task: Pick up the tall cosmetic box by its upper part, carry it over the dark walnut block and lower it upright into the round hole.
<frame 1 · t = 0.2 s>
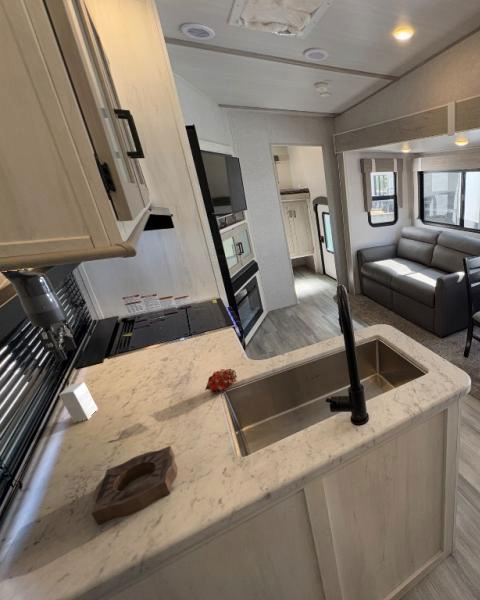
hand: (67, 354, 98), 26 cm above the worktop, tool pointing down, fingers open, 8 cm apart
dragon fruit: (223, 389, 119), on the worktop
cosmetic box: (86, 416, 109), on the worktop
hole block: (140, 487, 80), on the worktop
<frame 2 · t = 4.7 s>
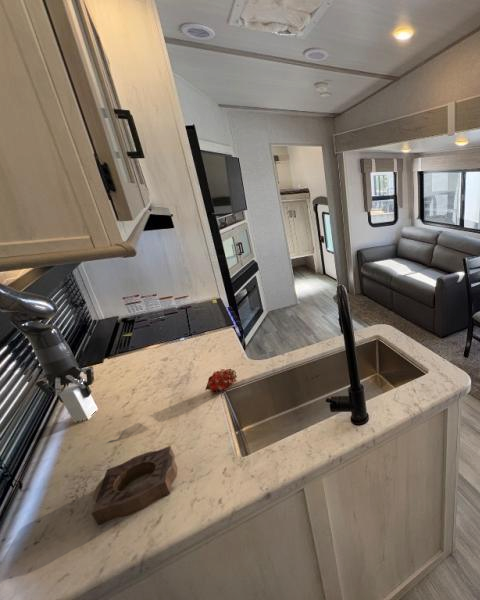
hand: (77, 399, 106), 7 cm above the worktop, tool pointing down, fingers closed on cosmetic box, 4 cm apart
cosmetic box: (86, 416, 109), on the worktop, touching gripper
everything else where it was.
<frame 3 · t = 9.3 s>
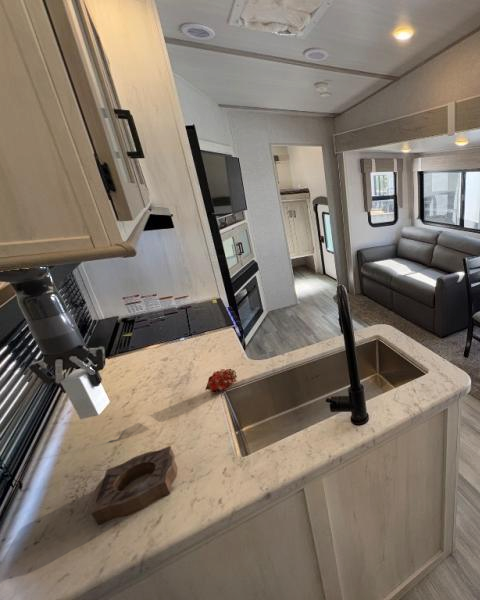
hand: (84, 388, 82), 24 cm above the worktop, tool pointing down, fingers closed on cosmetic box, 4 cm apart
cosmetic box: (95, 411, 84), point 17 cm above the worktop, touching gripper
everything else where it was.
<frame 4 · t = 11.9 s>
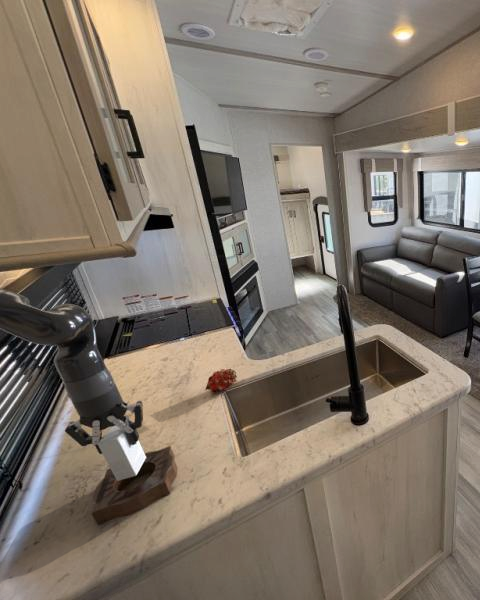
hand: (121, 447, 76), 14 cm above the worktop, tool pointing down, fingers closed on cosmetic box, 4 cm apart
cosmetic box: (132, 469, 78), point 6 cm above the worktop, touching gripper
everything else where it was.
when the fingers open (7 cm above the worktop, at t = 14.0 s): cosmetic box stays where it is, resting in hole block.
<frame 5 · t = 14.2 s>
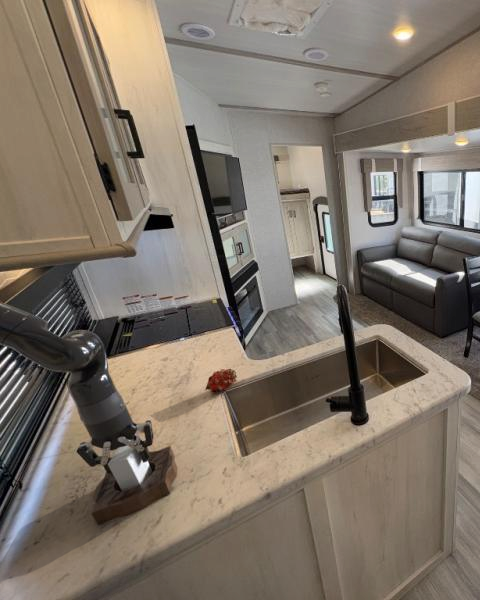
hand: (130, 465, 78), 7 cm above the worktop, tool pointing down, fingers open, 5 cm apart
cosmetic box: (140, 487, 80), resting in hole block
everything else where it was.
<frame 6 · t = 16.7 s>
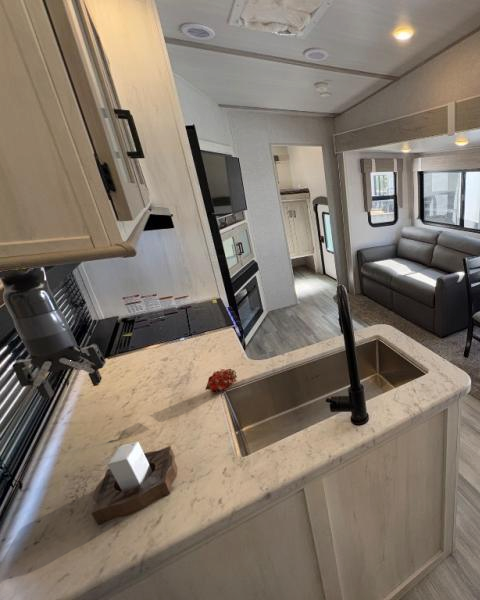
hand: (74, 390, 75), 28 cm above the worktop, tool pointing down, fingers open, 8 cm apart
nothing on the worktop moved.
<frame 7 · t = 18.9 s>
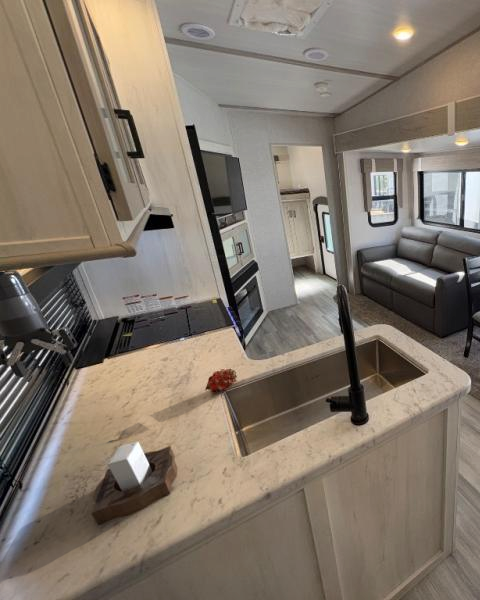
hand: (47, 370, 80), 30 cm above the worktop, tool pointing down, fingers open, 8 cm apart
nothing on the worktop moved.
at the end: cosmetic box 0.1 cm off-centre in the hole block, point 0.0 cm above the hole block's base; cosmetic box tilted 0°; the gripper is holding nothing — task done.
